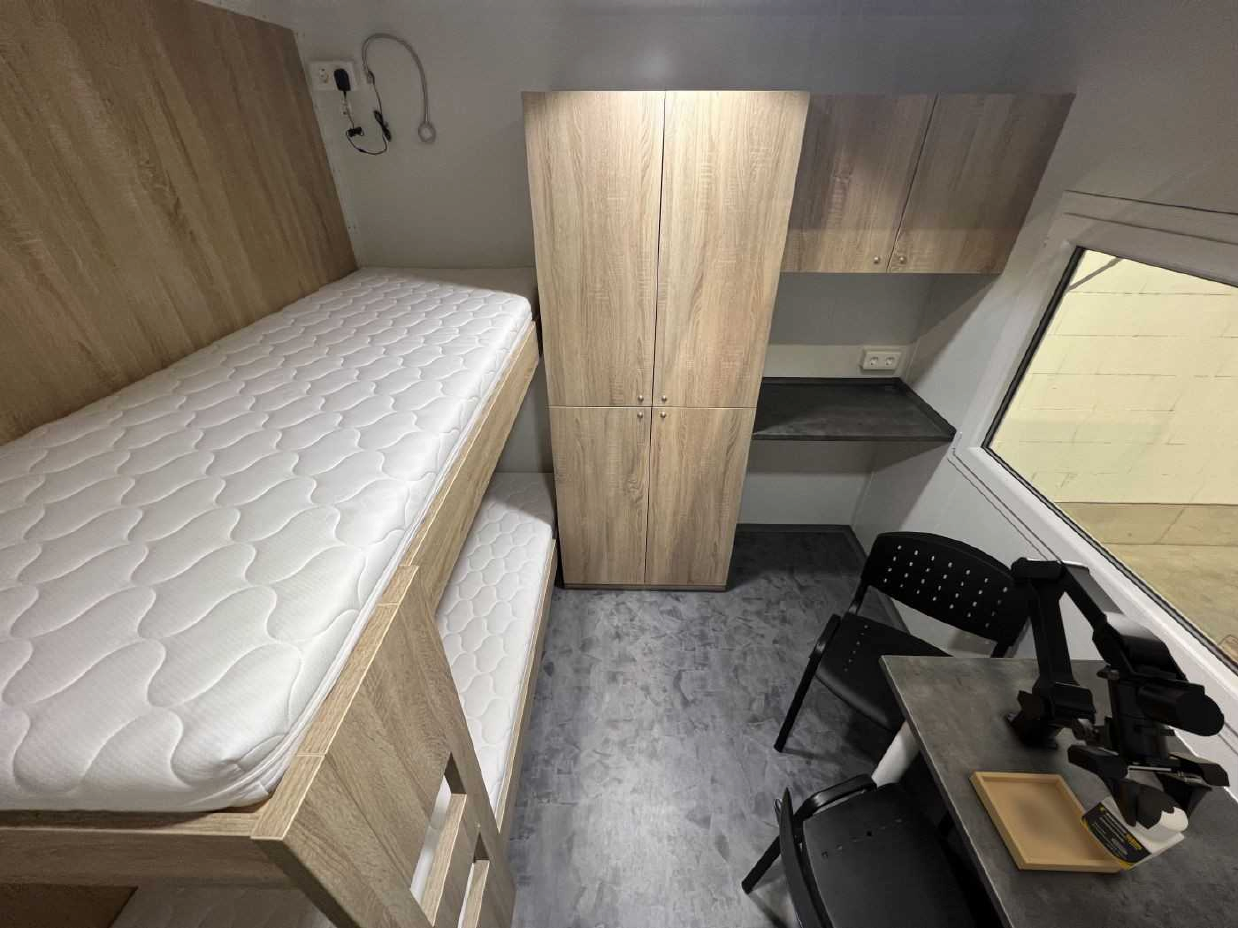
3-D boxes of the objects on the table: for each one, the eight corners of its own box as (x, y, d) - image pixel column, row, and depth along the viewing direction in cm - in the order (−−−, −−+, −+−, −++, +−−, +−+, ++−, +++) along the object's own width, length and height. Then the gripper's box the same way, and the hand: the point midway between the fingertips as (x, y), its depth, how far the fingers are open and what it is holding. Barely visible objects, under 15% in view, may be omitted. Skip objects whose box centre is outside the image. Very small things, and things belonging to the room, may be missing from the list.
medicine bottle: (1076, 818, 80) (1118, 785, 73) (1107, 805, 81) (1151, 771, 75) (1124, 870, 74) (1175, 839, 67) (1157, 855, 76) (1209, 823, 69)
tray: (1019, 869, 78) (1026, 862, 76) (969, 777, 89) (974, 771, 88) (1116, 872, 78) (1124, 866, 76) (1053, 780, 89) (1060, 774, 88)
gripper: (1145, 705, 83) (1161, 806, 80) (1034, 697, 84) (1045, 797, 81) (1222, 725, 72) (1244, 844, 69) (1094, 716, 73) (1109, 833, 70)
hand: (1153, 827), depth 72 cm, fingers closed on medicine bottle, 6 cm apart
